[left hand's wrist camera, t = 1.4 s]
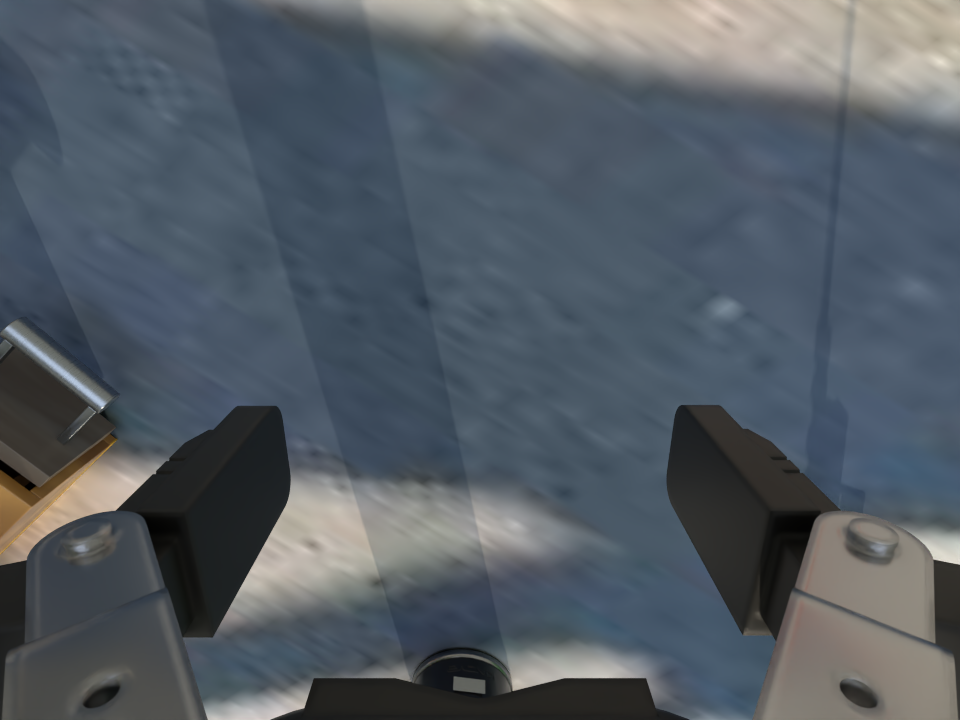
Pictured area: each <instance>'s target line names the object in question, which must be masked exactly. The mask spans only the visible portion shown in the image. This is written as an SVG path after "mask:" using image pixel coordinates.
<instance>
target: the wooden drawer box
mask: <svg viewBox="0 0 960 720" xmlns="http://www.w3.org/2000/svg"><path fill="white" fill-rule="evenodd" d="M117 440H118V439H116V438H114V437H113V436H112V435H111V434H109V435H108V436H107V437H105V438H104V439H103V440H101V441H100V442H99V443H98V444H96V445H95V446H94V447H92V448H91V449H90V450H88V451H87V452H86V453H84V454H83V455H82V456H80V457H79V458H78V459H77V460H75V461H74V462H73V463H71V464H70V465H69V466H67V467H66V468H65V469H63V470H62V471H61V472H60V473H58V474H57V475H56V476H54V477H53V478H52V479H50V480H49V481H48V482H46V483H45V484H44V485H42V486H41V487H37V486H35V487H34V488H33V489H31V490H30V491H29V490H28V489H26V488H25V487H23V486H22V485H21V484H19V483H18V482H17V481H15V480H14V479H12V478H11V477H10V476H8V475H7V474H6V473H4V472H3V471H1V470H0V554H1V553H2V552H3V551H4V550H5V549H6V548H7V547H8V546H9V545H10V544H11V543H13V542H14V541H15V540H16V539H17V538H18V537H19V536H20V535H21V534H22V533H23V532H24V531H25V530H26V529H27V528H28V527H29V526H30V525H31V524H32V523H33V522H34V521H35V520H36V519H37V518H38V517H39V516H40V515H41V514H42V513H43V512H44V511H45V510H46V509H47V508H48V507H49V506H50V505H51V504H52V503H53V502H54V501H55V500H56V499H57V498H58V497H59V496H60V495H61V494H62V493H63V492H65V491H66V490H67V489H68V488H69V487H70V486H71V485H72V484H73V483H74V482H75V481H76V480H77V479H78V478H79V477H80V476H81V475H82V474H83V473H84V472H85V471H86V470H87V469H88V468H89V467H90V466H91V465H92V464H93V463H94V462H95V461H96V460H97V459H98V458H99V457H100V456H101V455H102V454H103V453H104V452H105V451H106V450H107V449H108V448H109V447H110V446H111V445H112V444H113V443H114V442H116V441H117Z"/></svg>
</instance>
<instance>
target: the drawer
mask: <svg viewBox="0 0 960 720" xmlns="http://www.w3.org/2000/svg"><path fill="white" fill-rule="evenodd" d="M0 336H1V337H2V338H3V339H4V340H3V342H2V343H1V344H0V470H1V471H3V472H4V473H6V474H7V475H8V476H10V477H11V478H12V479H14V480H15V481H17V482H18V483H19V484H21V485H22V486H23V487H25V488H26V489H28V490H29V491H30V490H31V489H33V488H34V487H35V486H37V487H41V486H42V485H44V484H45V483H46V482H48V481H49V480H50V479H52V478H53V477H54V476H56V475H57V474H58V473H60V472H61V471H62V470H63V469H65V468H66V467H67V466H69V465H70V464H71V463H73V462H74V461H75V460H77V459H78V458H79V457H80V456H82V455H83V454H84V453H86V452H87V451H88V450H90V449H91V448H92V447H94V446H95V445H96V444H98V443H99V442H100V441H101V440H103V439H104V438H105V437H107V436H108V435H109V434H110V433H111V432H112V431H113V430H114V429H115V428H116V427H115V426H114V425H113V424H112V423H110V422H109V421H108V420H107V419H105V418H104V417H103V416H102V415H100V414H99V413H100V412H102V411H103V410H105V409H106V408H107V407H109V406H110V405H111V404H112V403H113V402H114V401H115V400H116V399H117V398H118V397H119V396H120V394H119V393H118V392H117V391H116V390H114V389H113V388H112V387H111V386H110V385H108V384H107V383H106V382H105V381H103V380H102V379H101V378H100V377H99V376H97V375H96V374H95V373H94V372H92V371H91V370H90V369H89V368H88V367H86V366H85V365H84V364H83V363H81V362H80V361H79V360H78V359H77V358H75V357H74V356H73V355H72V354H70V353H69V352H68V351H67V350H66V349H64V348H63V347H62V346H61V345H59V344H58V343H57V342H56V341H55V340H53V339H52V338H51V337H50V336H48V335H47V334H46V333H45V332H44V331H42V330H41V329H40V328H39V327H37V326H36V325H35V324H34V323H33V322H31V321H30V320H29V319H28V318H26V317H22V318H19V319H17V320H15V321H13V322H12V323H10V324H9V325H7V326H6V327H5V328H4V329H3V330H2V331H1V333H0Z"/></svg>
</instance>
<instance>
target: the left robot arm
mask: <svg viewBox="0 0 960 720" xmlns="http://www.w3.org/2000/svg"><path fill="white" fill-rule="evenodd" d="M290 481H291V479H290V468H289V461H288V454H287V447H286V440H285V433H284V426H283V419H282V415H281V412H280V410H279V408H278V407H277V406H237V407H235V408H234V409H233V410H232V411H231V412H230V413H229V414H228V415H227V416H226V417H225V418H224V420H223V421H222V422H221V423H220V424H219V425H218V426H217V427H216V428H215V429H214V430H208V431H206V432H204V433H202V434H200V435H199V436H197V437H195V438H193V439H191V440H189V441H188V442H186V443H184V444H183V445H182V446H181V447H180V448H179V449H178V450H177V451H176V452H175V453H174V454H173V455H172V456H171V457H170V458H169V461H166V462H165V463H164V464H163V465H162V466H161V467H160V468H159V469H158V470H157V471H156V474H153V475H152V476H151V477H150V478H149V479H148V480H147V481H146V482H145V483H144V484H142V485H141V486H140V487H139V488H138V489H137V490H136V491H135V492H134V493H133V494H132V495H131V496H130V497H129V498H128V499H127V500H126V501H125V502H124V503H123V504H122V505H121V506H120V507H119V508H118V509H117V510H116V511H109V512H102V513H97V514H93V515H90V516H86V517H83V518H80V519H77V520H75V521H72V522H70V523H68V524H66V525H64V526H62V527H60V528H58V529H56V530H54V531H53V532H51V533H50V534H48V535H47V536H45V537H44V538H43V539H41V540H40V541H39V542H38V543H37V544H36V545H35V546H34V547H33V549H32V550H31V551H30V553H29V555H28V557H27V560H26V561H21V562H16V563H11V564H6V565H1V566H0V720H207V716H206V713H205V710H204V706H203V703H202V700H201V697H200V693H199V690H198V687H197V683H196V680H195V677H194V674H193V670H192V667H191V664H190V660H189V657H188V654H187V651H186V647H185V644H184V641H183V637H213V636H214V634H215V632H216V631H217V629H218V627H219V625H220V623H221V621H222V620H223V618H224V616H225V614H226V612H227V611H228V609H229V607H230V605H231V603H232V602H233V600H234V598H235V596H236V594H237V593H238V591H239V589H240V587H241V585H242V584H243V582H244V580H245V578H246V576H247V574H248V573H249V571H250V569H251V567H252V565H253V564H254V562H255V560H256V558H257V556H258V555H259V553H260V551H261V549H262V547H263V546H264V544H265V542H266V540H267V538H268V537H269V535H270V533H271V531H272V529H273V528H274V526H275V524H276V522H277V520H278V518H279V517H280V515H281V513H282V511H283V509H284V508H285V506H286V503H287V501H288V497H289V492H290ZM667 490H668V496H669V499H670V502H671V504H672V506H673V508H674V510H675V512H676V514H677V516H678V517H679V519H680V521H681V523H682V525H683V527H684V528H685V530H686V532H687V534H688V536H689V538H690V539H691V541H692V543H693V545H694V547H695V549H696V550H697V552H698V554H699V556H700V558H701V560H702V561H703V563H704V565H705V567H706V569H707V571H708V572H709V574H710V576H711V578H712V580H713V581H714V583H715V585H716V587H717V589H718V591H719V592H720V594H721V596H722V598H723V600H724V602H725V603H726V605H727V607H728V609H729V611H730V613H731V614H732V616H733V618H734V620H735V622H736V624H737V625H738V627H739V629H740V631H741V633H742V635H773V637H774V638H775V640H776V644H775V647H774V651H773V654H772V657H771V660H770V664H769V667H768V670H767V674H766V677H765V680H764V683H763V687H762V690H761V693H760V697H759V700H758V703H757V706H756V710H755V713H754V716H753V720H960V565H958V564H953V563H948V562H943V561H937V560H933V557H932V555H931V553H930V551H929V550H928V549H927V547H926V546H925V545H924V544H923V543H922V542H921V541H920V540H919V539H917V538H916V537H915V536H913V535H912V534H910V533H909V532H907V531H906V530H904V529H902V528H900V527H898V526H896V525H894V524H892V523H890V522H888V521H885V520H883V519H880V518H877V517H874V516H870V515H867V514H863V513H858V512H851V511H841V510H840V509H839V508H838V507H837V506H836V505H835V504H834V503H833V502H832V501H831V500H830V499H829V498H828V497H827V496H826V495H825V494H824V493H823V492H822V491H821V490H820V489H819V488H818V487H816V486H815V485H814V484H813V483H812V482H811V481H810V480H809V479H808V478H807V477H806V476H805V475H804V474H803V473H800V470H799V469H798V468H797V467H796V466H795V465H794V464H793V463H792V462H791V461H790V460H787V457H786V456H785V455H784V454H783V453H782V452H781V451H780V450H779V449H778V448H777V447H776V446H775V445H774V444H773V443H772V442H771V441H769V440H767V439H765V438H763V437H761V436H760V435H758V434H756V433H754V432H752V431H750V430H749V429H742V428H741V426H740V425H739V424H738V423H737V422H736V421H735V420H734V419H733V418H732V417H731V416H730V415H729V414H728V413H727V412H726V411H725V410H724V409H723V408H722V407H721V406H719V405H681V406H679V407H678V409H677V411H676V414H675V418H674V425H673V432H672V440H671V447H670V454H669V461H668V468H667ZM271 720H689V719H687V718H684V717H681V716H678V715H675V714H673V713H670V712H667V711H664V710H660V709H656V708H655V705H654V702H653V699H652V696H651V692H650V689H649V686H648V683H647V680H646V678H564V679H560V680H556V681H552V682H548V683H544V684H540V685H536V686H532V687H528V688H524V689H520V690H516V691H513V690H512V680H511V677H510V674H509V672H508V671H507V669H506V668H505V667H504V666H503V665H502V664H501V663H500V662H499V661H498V660H496V659H495V658H493V657H491V656H489V655H487V654H485V653H482V652H478V651H474V650H465V649H457V650H449V651H445V652H441V653H438V654H436V655H434V656H432V657H430V658H428V659H427V660H425V661H424V662H423V663H422V664H421V665H420V666H419V667H418V669H417V670H416V672H415V674H414V676H413V680H412V682H408V681H404V680H400V679H396V678H314V680H313V683H312V686H311V689H310V692H309V696H308V699H307V702H306V705H305V708H304V709H300V710H296V711H293V712H290V713H287V714H285V715H282V716H279V717H276V718H273V719H271Z"/></svg>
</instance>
